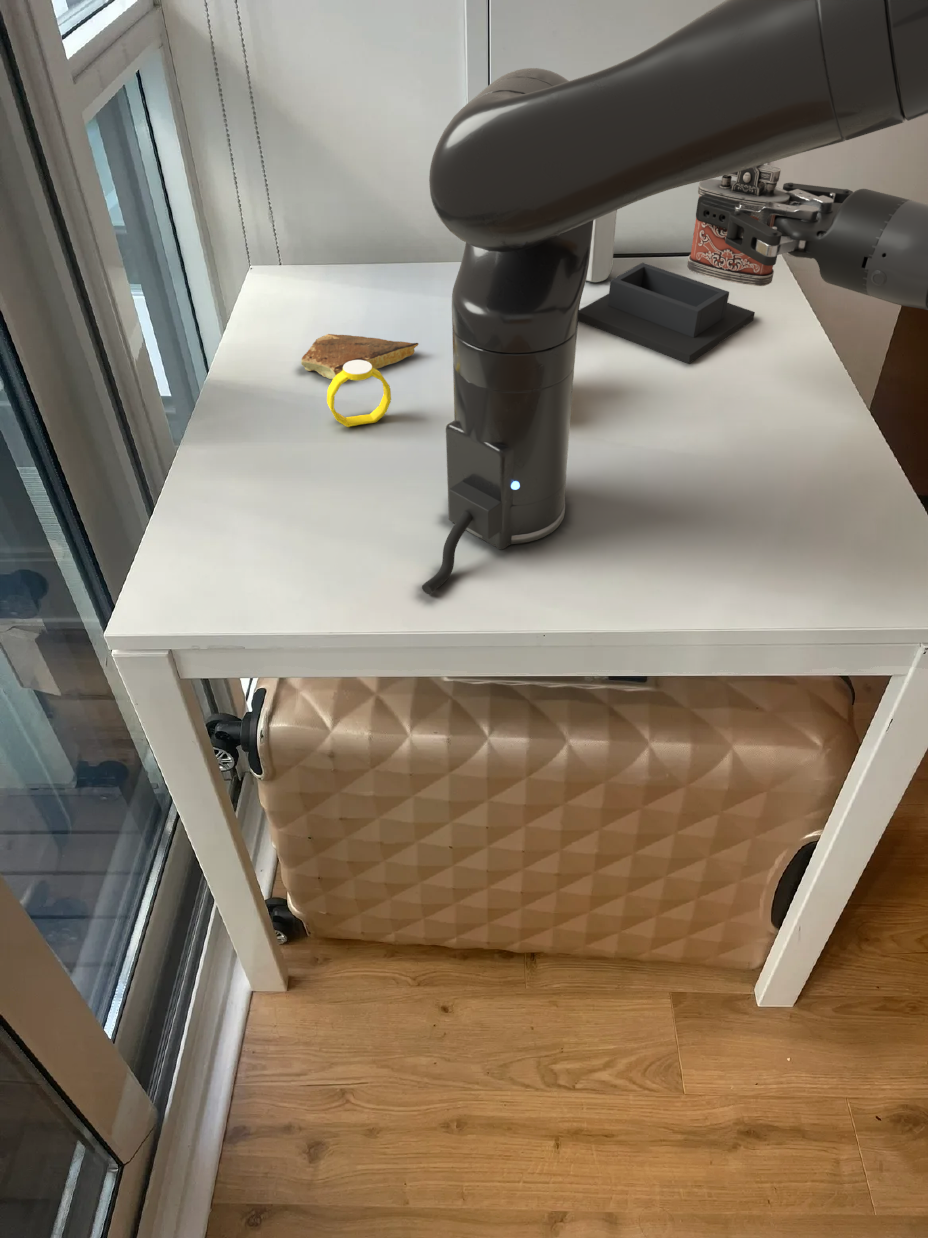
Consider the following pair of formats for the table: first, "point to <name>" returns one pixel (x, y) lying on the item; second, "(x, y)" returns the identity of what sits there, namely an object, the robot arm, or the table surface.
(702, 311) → the dock pad
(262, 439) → the table surface
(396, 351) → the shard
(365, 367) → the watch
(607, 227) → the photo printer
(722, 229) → the lighter
